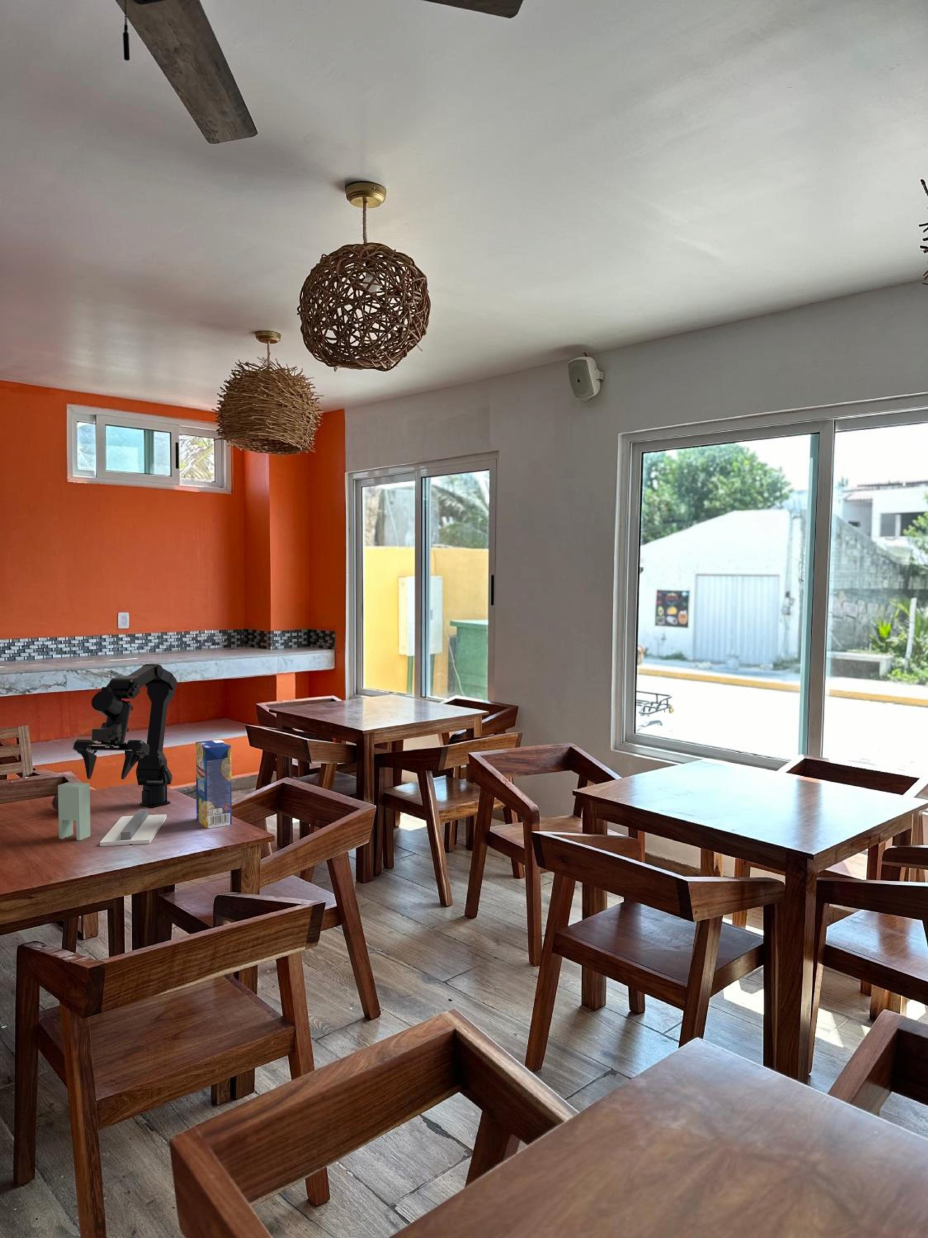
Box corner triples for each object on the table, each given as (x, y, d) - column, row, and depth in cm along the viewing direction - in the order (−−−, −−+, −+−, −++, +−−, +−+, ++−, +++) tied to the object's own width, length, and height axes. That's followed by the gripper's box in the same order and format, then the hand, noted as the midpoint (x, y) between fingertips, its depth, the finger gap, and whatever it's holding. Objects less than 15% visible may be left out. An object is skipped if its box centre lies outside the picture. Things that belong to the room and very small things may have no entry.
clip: (70, 834, 219) (69, 781, 218) (90, 836, 217) (89, 783, 217) (58, 838, 215) (57, 785, 214) (79, 840, 213) (78, 786, 213)
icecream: (44, 787, 243) (54, 802, 232) (70, 778, 248) (82, 792, 236) (50, 809, 245) (61, 824, 233) (76, 799, 249) (88, 814, 238)
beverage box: (220, 815, 237) (219, 739, 236) (232, 825, 227) (231, 745, 227) (196, 819, 233) (195, 741, 232) (206, 828, 224) (205, 748, 223)
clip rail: (121, 820, 232) (121, 809, 232) (166, 817, 234) (166, 807, 234) (99, 846, 209) (99, 834, 208) (149, 843, 211) (149, 832, 211)
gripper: (69, 713, 218) (56, 771, 211) (138, 713, 217) (127, 772, 210) (88, 725, 228) (76, 781, 222) (154, 725, 227) (144, 782, 221)
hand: (105, 779), depth 218 cm, fingers open, 9 cm apart
